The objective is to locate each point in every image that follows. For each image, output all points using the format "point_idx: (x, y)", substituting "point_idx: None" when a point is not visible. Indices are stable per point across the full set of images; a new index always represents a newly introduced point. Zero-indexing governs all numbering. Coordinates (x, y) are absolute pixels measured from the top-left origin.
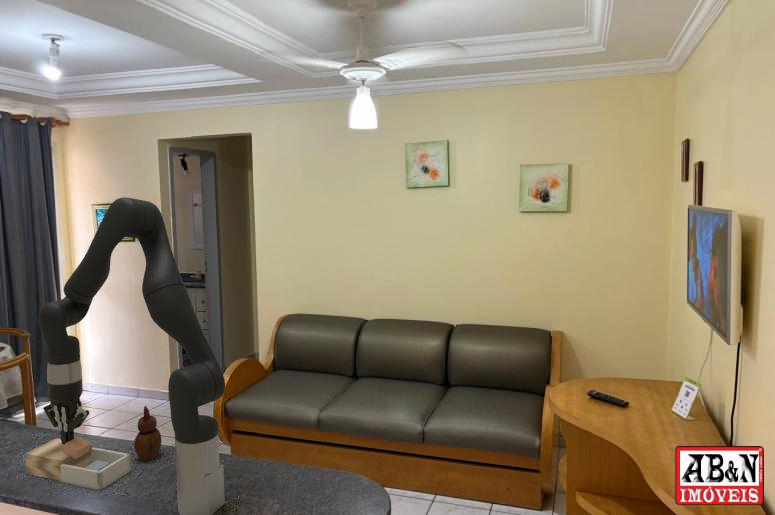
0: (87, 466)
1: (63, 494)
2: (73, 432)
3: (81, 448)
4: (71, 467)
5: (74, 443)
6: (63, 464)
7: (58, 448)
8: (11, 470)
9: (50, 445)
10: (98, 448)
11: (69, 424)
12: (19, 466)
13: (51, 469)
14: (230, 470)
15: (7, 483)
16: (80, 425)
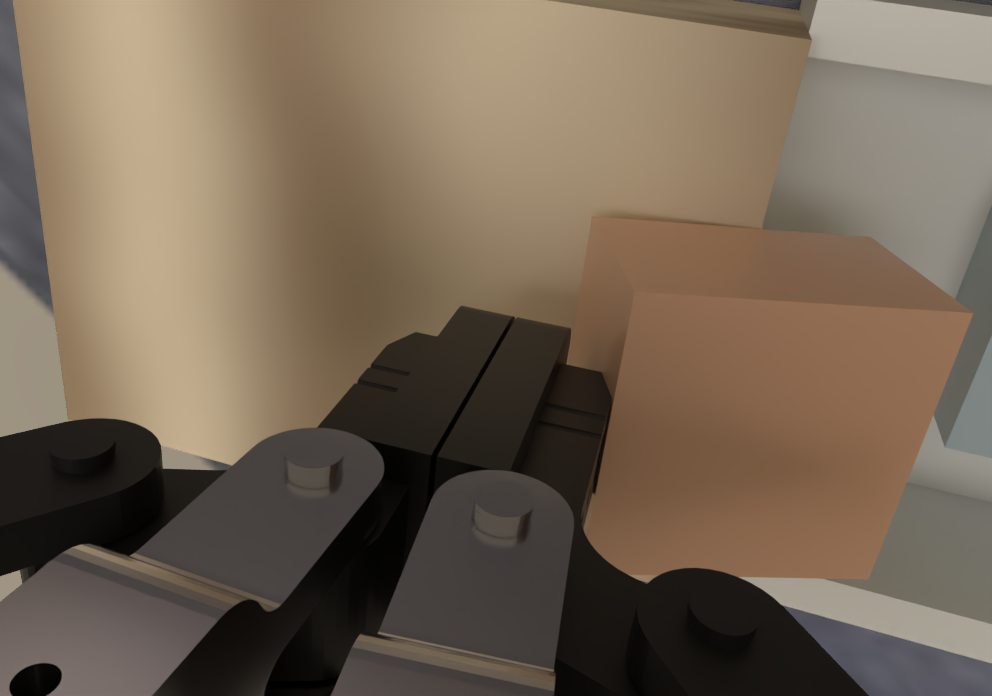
0: (977, 416)
1: (857, 632)
2: (587, 493)
3: (892, 507)
4: (862, 626)
5: (711, 494)
6: None
7: (337, 260)
8: (42, 264)
9: (151, 185)
10: (961, 18)
11: (366, 515)
12: (32, 185)
13: None
14: None
15: (217, 466)
16: (809, 661)
